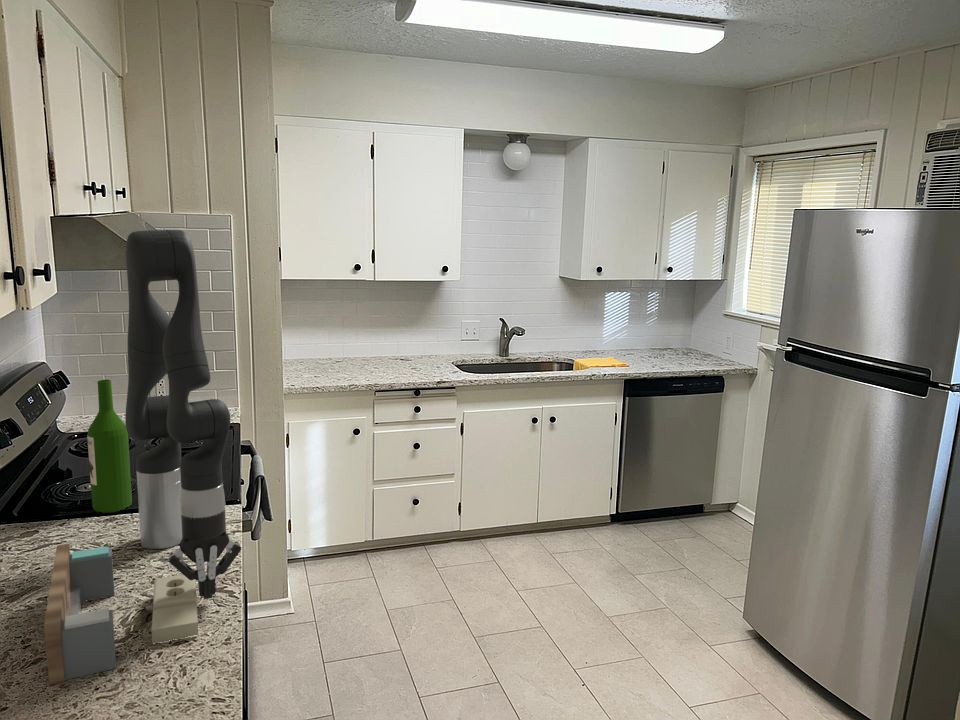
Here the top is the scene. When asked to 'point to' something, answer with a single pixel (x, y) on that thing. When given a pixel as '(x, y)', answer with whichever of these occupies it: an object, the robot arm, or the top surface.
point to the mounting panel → (57, 613)
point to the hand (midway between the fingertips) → (207, 596)
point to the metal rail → (74, 600)
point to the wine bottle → (109, 456)
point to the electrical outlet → (174, 608)
